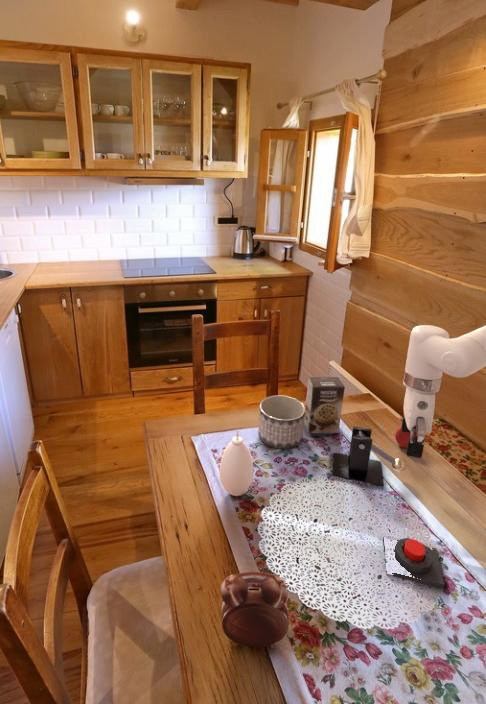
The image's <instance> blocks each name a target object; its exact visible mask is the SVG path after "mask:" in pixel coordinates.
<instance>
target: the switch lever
mask: <svg viewBox="0 0 486 704" xmlns="http://www.w3.org/2000/svg"><path fill="white" fill-rule="evenodd" d="M355 436H359V437H364V438H369V437H368V436H367V435H365V434H364V433H362V432H361V431H359V432H358V433H357V434H356V435H355ZM371 451H373V452H374V453H376V454H377V455H378V456H380V457H381V458H383V459H384V460H386V461H387V462H388V463H390V464H391V467H392V469H393V470H394V471H395V472H397V473H403V472H404V471H405V470H406V468H407V465H406V462H405V461H404V459H402V458H394V457H393V456H391V455H389V454H388V453H387V452H385V451H384V450H383V449H381V448H379V447H378V446H376V445H375V444H374V443H372V447H371Z"/></svg>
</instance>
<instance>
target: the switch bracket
mask: <svg viewBox="0 0 486 704" xmlns="http://www.w3.org/2000/svg"><path fill="white" fill-rule="evenodd" d="M359 431H361V432H362V433H364V434H365V435H367V436H368V437H369V438H364V437H359V436H355V435H356V434H357V433H358V432H359ZM372 432H373V431H372V429H371V428H366V427H360V426H352V432H351V439H350V445H349V452H348V454H344V453H338V452H333V457H332V474H331V476H332V477H336V478H341V479H345V480H350V481H355V482H356V481H357V482H360V483H364V484H370V485H375V486H379V487H384V479H383V470H382V462H381V460H376V459H371V458H370V457H371V452H372V450H371V447H372V444H373V438H372Z"/></svg>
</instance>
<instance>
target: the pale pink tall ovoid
mask: <svg viewBox="0 0 486 704" xmlns="http://www.w3.org/2000/svg"><path fill="white" fill-rule="evenodd" d="M254 470H255V469H254V462H253V457H252V453H251V451H250V449H249V447H248V445H247V444H246V443H245V442H244V439H243V438H242V437H241V436H239V429H237V430H236V436H233V437H232V438H231V441H230V442H229V443H228V444H227V446H226V447H225V449H224V451H223V453H222V456H221V459H220V463H219V480H220V483H221V485H222V487H223V489H224V490H225V492H226V493H227V494H229V495H231V496H234V497H239V496H243V495H244V494H245V493H246V492H247V491H248V490H249V488H250V486H251V484H252V482H253V478H254Z"/></svg>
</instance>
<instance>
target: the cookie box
mask: <svg viewBox="0 0 486 704" xmlns="http://www.w3.org/2000/svg"><path fill="white" fill-rule="evenodd" d="M306 389H307V390H306V399H305V405H304V407H305V419H304V426H305V429H306V430H307V433H309V434H323V433H324V434H325V433H326V434H327V433H333V434H334V433H339V432H340V425H341V424H340V423H341V417H342V410H343V403H344V397H345V396H344V395H345V391H346V390H345V389H346V386H345V385H344V383H343V382H342V381H341V379H340V378H339V376H308V379H307V388H306Z"/></svg>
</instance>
